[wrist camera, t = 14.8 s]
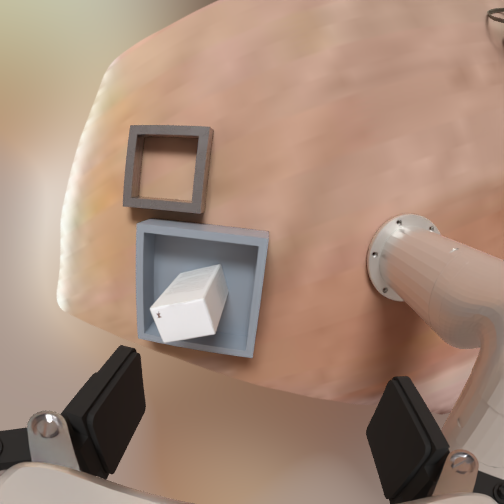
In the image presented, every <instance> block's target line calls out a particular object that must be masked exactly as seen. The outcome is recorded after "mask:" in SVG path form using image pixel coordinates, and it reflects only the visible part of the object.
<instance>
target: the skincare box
mask: <svg viewBox="0 0 504 504" xmlns="http://www.w3.org/2000/svg"><path fill="white" fill-rule="evenodd" d="M228 292H229V291H228V287H227V284H226V280H225V277H224V273H223V270H222V266H221V264H217V265H213V266H209V267H205V268H200V269H196V270H192V271H187V272H183V273H180V274H179V275H178V276H177V277H176V278H175V280H174V281H173V282H172V283H171V284H170V285H169V287H168V288H167V289H166V290H165V291H164V292H163V293H162V295H161V296H160V297H159V298H158V299H157V300H156V301H155V303H154V304H153V305H152V306H151V307H150V311H151V314H152V316H153V319H154V321H155V323H156V326H157V328H158V331H159V333H160V336H161V338H162V340H163V342H164V343H167V342H173V341H180V340H186V339H191V338H197V337H202V336H208V335H214V334H215V333H216V330H217V327H218V324H219V321H220V318H221V314H222V311H223V308H224V305H225V302H226V299H227V296H228Z"/></svg>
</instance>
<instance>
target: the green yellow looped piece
mask: <svg viewBox="0 0 504 504" xmlns="http://www.w3.org/2000/svg"><path fill="white" fill-rule="evenodd" d="M495 12H504V8H496V9H491V10H489V11H488V16H489V18H491V19H493V20H495V21H498V22H501V23H504V19H501V18H497V17H494V16H492V15H490V14H492V13H495Z"/></svg>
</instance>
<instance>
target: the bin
mask: <svg viewBox="0 0 504 504" xmlns="http://www.w3.org/2000/svg"><path fill="white" fill-rule="evenodd" d="M268 240H269V231H261V230H253V229H245V228H236V227H228V226H219V225H211V224H202V223H193V222H184V221H174V220H165V219H155V218H151V219H148V220H145V221H142V222H139V223H137V233H136V305H137V328H138V338H139V339H144V340H148V341H153V342H158V343H163V344H168V345H173V346H178V347H184V348H189V349H195V350H201V351H207V352H213V353H220V354H227V355H234V356H241V357H249V358H253V351H254V344H255V337H256V330H257V323H258V316H259V308H260V301H261V294H262V286H263V279H264V271H265V264H266V256H267V248H268ZM217 264H221V266H222V270H223V273H224V277H225V280H226V284H227V287H228V291H229V292H228V296H227V299H226V302H225V305H224V308H223V311H222V314H221V318H220V321H219V324H218V327H217V330H216V333H215V334H214V335H208V336H202V337H197V338H191V339H186V340H180V341H173V342H167V343H164V342H163V340H162V338H161V336H160V333H159V331H158V328H157V326H156V323H155V321H154V319H153V316H152V314H151V311H150V307H151V306H152V305H153V304H154V303H155V301H156V300H157V299H158V298H159V297H160V296H161V295H162V293H163V292H164V291H165V290H166V289H167V288H168V287H169V285H170V284H171V283H172V282H173V281H174V280H175V278H176V277H177V276H178V275H179V274H180V273H183V272H187V271H192V270H196V269H200V268H205V267H209V266H213V265H217Z"/></svg>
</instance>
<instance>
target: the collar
mask: <svg viewBox="0 0 504 504" xmlns="http://www.w3.org/2000/svg"><path fill="white" fill-rule="evenodd" d="M144 137H184V138H199V140H198V149H197V157H196V166H195V176H194V186H193V196H192V201H184V200H173V199H161V198H149V197H139V186H140V174H141V164H142V154H143V145H144ZM212 138H213V129H212V128H210V127H202V126H174V125H131V126H130V132H129V140H128V148H127V157H126V167H125V179H124V193H123V206H125V207H136V208H147V209H158V210H168V211H178V212H188V213H198V214H201V213H203V212H205V202H206V192H207V182H208V173H209V164H210V155H211V147H212Z"/></svg>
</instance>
